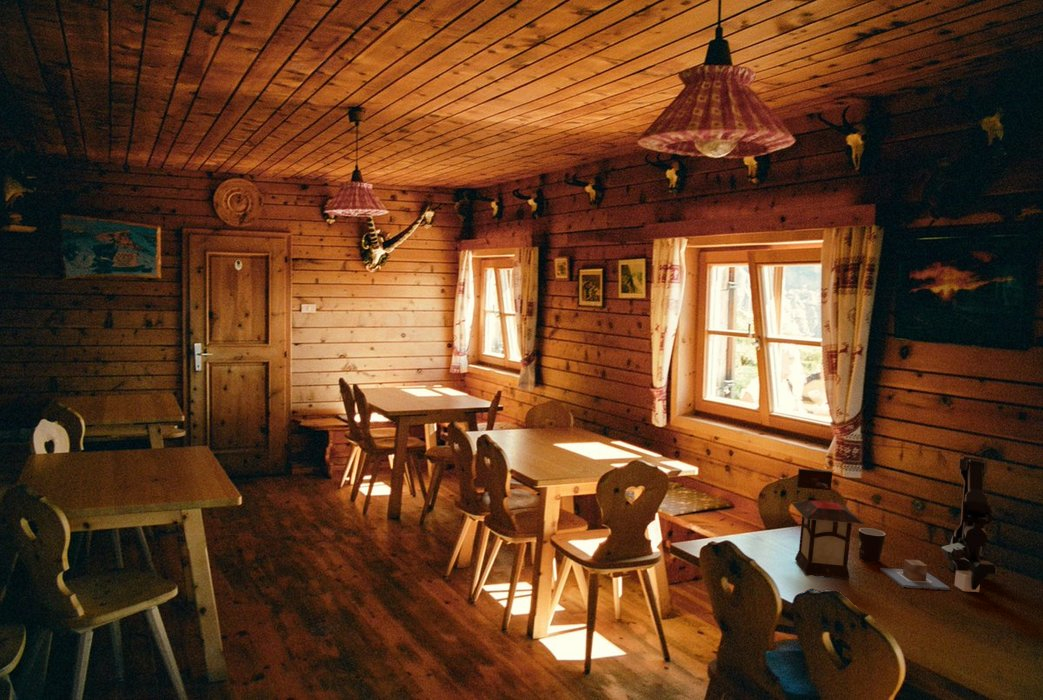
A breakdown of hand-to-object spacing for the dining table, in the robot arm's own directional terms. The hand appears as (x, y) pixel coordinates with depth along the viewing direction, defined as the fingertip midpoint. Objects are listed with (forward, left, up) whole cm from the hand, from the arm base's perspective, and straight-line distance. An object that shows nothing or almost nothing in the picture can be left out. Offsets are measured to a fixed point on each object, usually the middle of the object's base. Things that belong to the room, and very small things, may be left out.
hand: (966, 585), depth 251 cm
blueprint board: (+15, -5, -1) cm, 15 cm away
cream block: (0, 0, -1) cm, 1 cm away
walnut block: (+15, -5, 0) cm, 15 cm away
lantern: (+43, -13, -1) cm, 45 cm away
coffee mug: (+20, -24, -1) cm, 31 cm away
